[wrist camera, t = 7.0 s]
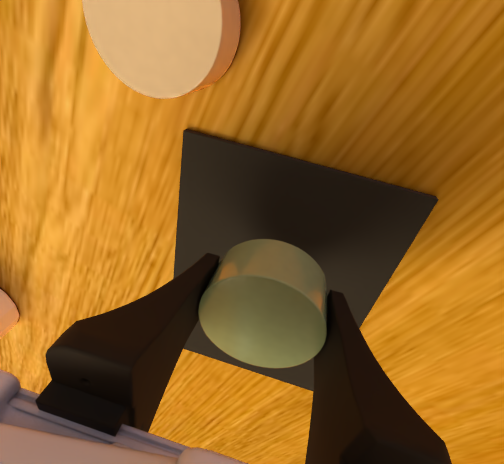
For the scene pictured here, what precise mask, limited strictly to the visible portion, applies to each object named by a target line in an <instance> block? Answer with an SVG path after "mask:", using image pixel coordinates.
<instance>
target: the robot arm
mask: <svg viewBox="0 0 504 464" xmlns="http://www.w3.org/2000/svg"><path fill="white" fill-rule="evenodd" d="M219 258H220V256H217V255H214V254H211V253H206V254H205V255H204V256H202V257H201V258H200V259H199V260H198V261H197V262H195V263H194V264H193V265H192V266H191V267H189V268H188V269H187V270H185V271H184V272H183V273H181V274H180V275H179V276H177V277H176V278H174V279H173V280H171V281H170V282H168V283H167V284H165V285H164V286H162V287H160V288H159V289H157V290H155V291H153V292H152V293H150V294H148V295H146V296H144V297H142V298H140V299H138V300H136V301H134V302H131V303H129V304H127V305H125V306H122V307H119V308H117V309H114V310H112V311H109V312H106V313H103V314H100V315H97V316H93V317H90V318H86V319H83V320H79V321H76V322H75V323H74V324H73V325H72V326H71V327H69V328H68V329H67V330H66V331H65V332H64V333H63V334H62V335H61V336H60V337H59V338H58V339H57V340H56V342H55V343H54V344H53V345H52V346H51V347H50V348H49V349H48V350H47V353H46V362H47V365H48V368H49V371H50V375H51V378H52V381H51V382H50V383H49V384H48V386H47V387H46V388H45V389H44V390H43V392H42V393H41V394H37V393H34V392H31V391H29V390H26V389H23V388H21V386H20V382H19V380H18V379H17V377H15V376H14V375H13V374H11V373H9V372H6V371H3V370H0V464H248V463H245V462H242V461H239V460H236V459H233V458H231V457H228V456H225V455H222V454H219V453H216V452H214V451H211V450H207V449H202V448H198V447H197V448H190V447H187V446H184V445H181V444H179V443H176V442H173V441H170V440H167V439H164V438H162V437H159V436H156V435H153V434H150V433H148V431H149V429H150V426H151V424H152V421H153V419H154V416H155V414H156V411H157V409H158V406H159V404H160V401H161V399H162V396H163V394H164V392H165V389H166V387H167V384H168V382H169V380H170V377H171V375H172V373H173V370H174V368H175V366H176V363H177V361H178V359H179V356H180V354H181V352H182V350H183V348H184V346H185V344H186V342H187V340H188V338H189V336H190V335H191V333H192V331H193V329H194V327H195V326H196V324H197V322H198V320H199V314H198V308H199V302H200V299H201V297H202V295H203V293H204V291H205V289H206V287H207V285H208V283H209V281H210V279H211V277H212V275H213V273H214V271H215V270H216V268H217V266H218V264H219ZM305 464H452V463H451V460H450V456H449V453H448V450H447V448H446V445H445V442H444V441H443V440H442V439H441V438H440V437H439V436H438V435H437V434H436V433H435V432H434V431H433V430H432V429H431V428H430V427H429V426H428V425H427V424H426V423H425V422H424V421H423V420H422V418H421V417H420V416H419V415H418V414H417V413H416V412H415V410H414V409H413V408H412V407H411V406H410V405H409V404H408V402H407V401H406V400H405V399H404V398H403V396H402V395H401V394H400V393H399V391H398V390H397V389H396V387H395V386H394V385H393V383H392V382H391V381H390V379H389V378H388V377H387V375H386V374H385V372H384V371H383V369H382V368H381V366H380V365H379V363H378V362H377V360H376V359H375V357H374V355H373V354H372V352H371V350H370V349H369V347H368V345H367V343H366V341H365V339H364V337H363V336H362V334H361V331H360V329H359V327H358V325H357V323H356V321H355V319H354V317H353V315H352V312H351V310H350V308H349V305H348V303H347V300H346V298H345V296H344V294H343V293H340V292H337V291H334V290H331V289H330V291H329V293H328V295H327V337H326V341H325V343H324V346H323V347H322V349H321V350H320V352H319V353H318V354H317V355H316V356H314V393H313V403H312V413H311V422H310V431H309V439H308V446H307V454H306V461H305Z"/></svg>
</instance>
